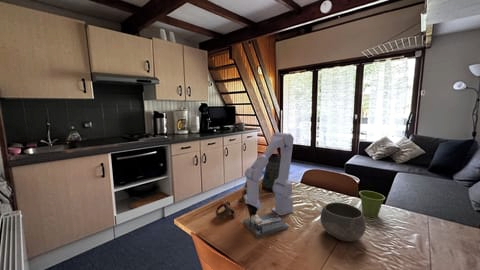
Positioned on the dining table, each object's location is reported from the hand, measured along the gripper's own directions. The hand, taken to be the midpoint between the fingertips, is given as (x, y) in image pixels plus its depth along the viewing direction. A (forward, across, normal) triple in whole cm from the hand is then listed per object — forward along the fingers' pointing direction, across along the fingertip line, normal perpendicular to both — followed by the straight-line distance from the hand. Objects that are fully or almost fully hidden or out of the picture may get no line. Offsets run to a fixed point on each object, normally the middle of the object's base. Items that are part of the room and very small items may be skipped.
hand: (252, 217), depth 102 cm
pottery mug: (+3, -12, -9) cm, 15 cm away
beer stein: (+3, -34, +37) cm, 51 cm away
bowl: (+3, +27, +31) cm, 41 cm away
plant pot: (+3, +20, +62) cm, 65 cm away
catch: (+1, +4, 0) cm, 4 cm away
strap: (+1, +7, +5) cm, 9 cm away
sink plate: (+3, +5, +4) cm, 7 cm away
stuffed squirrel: (+3, -24, +12) cm, 26 cm away
